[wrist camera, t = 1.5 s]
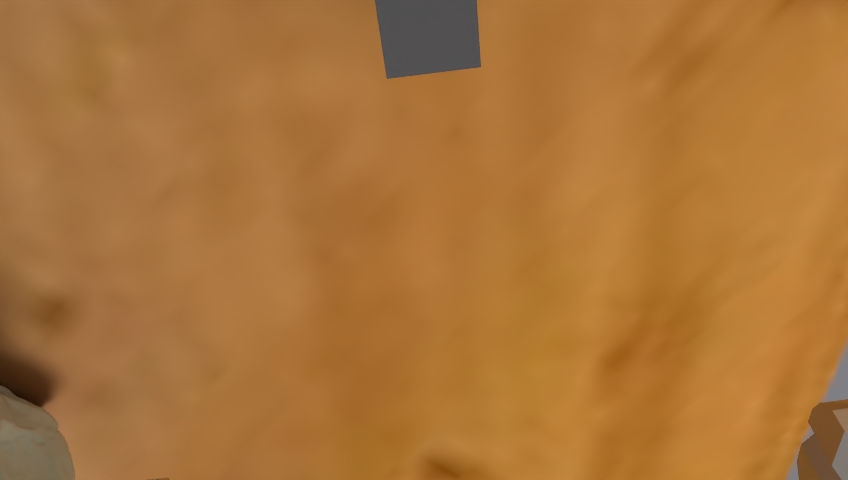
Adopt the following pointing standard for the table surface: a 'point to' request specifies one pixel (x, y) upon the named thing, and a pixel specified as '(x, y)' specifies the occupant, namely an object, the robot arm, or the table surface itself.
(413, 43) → the long dark grey plank
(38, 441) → the folded clay sculpture
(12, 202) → the table surface
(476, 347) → the table surface
